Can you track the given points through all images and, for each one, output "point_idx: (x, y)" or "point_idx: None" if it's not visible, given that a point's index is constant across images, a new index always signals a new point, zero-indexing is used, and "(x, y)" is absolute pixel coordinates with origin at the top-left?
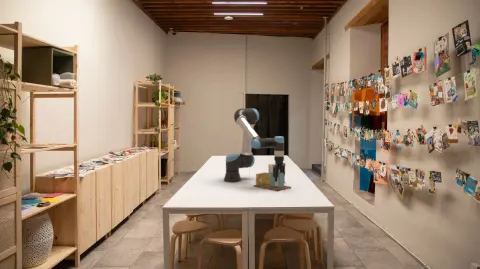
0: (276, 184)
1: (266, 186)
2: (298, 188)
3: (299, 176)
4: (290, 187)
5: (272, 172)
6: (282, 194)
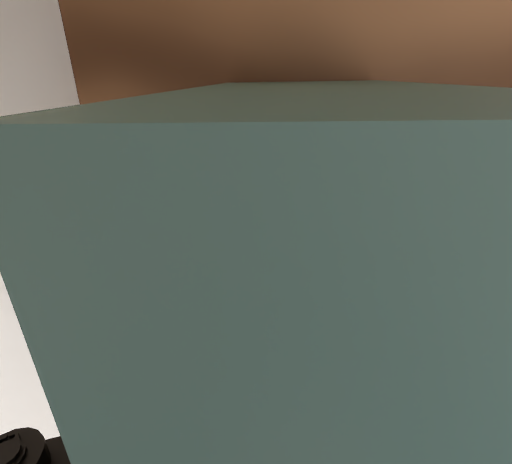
0: None
1: (147, 38)
2: None
3: None
4: None
5: (109, 412)
6: None
